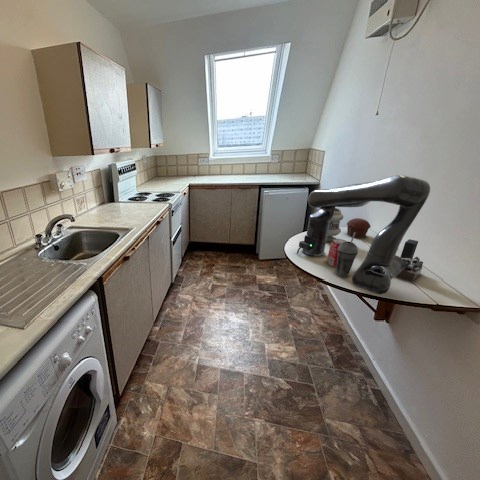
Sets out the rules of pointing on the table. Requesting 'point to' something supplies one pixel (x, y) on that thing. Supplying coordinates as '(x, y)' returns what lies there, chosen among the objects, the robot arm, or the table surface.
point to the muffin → (358, 227)
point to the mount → (409, 274)
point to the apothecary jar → (334, 225)
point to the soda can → (334, 252)
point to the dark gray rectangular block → (409, 249)
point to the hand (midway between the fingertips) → (402, 255)
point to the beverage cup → (346, 257)
